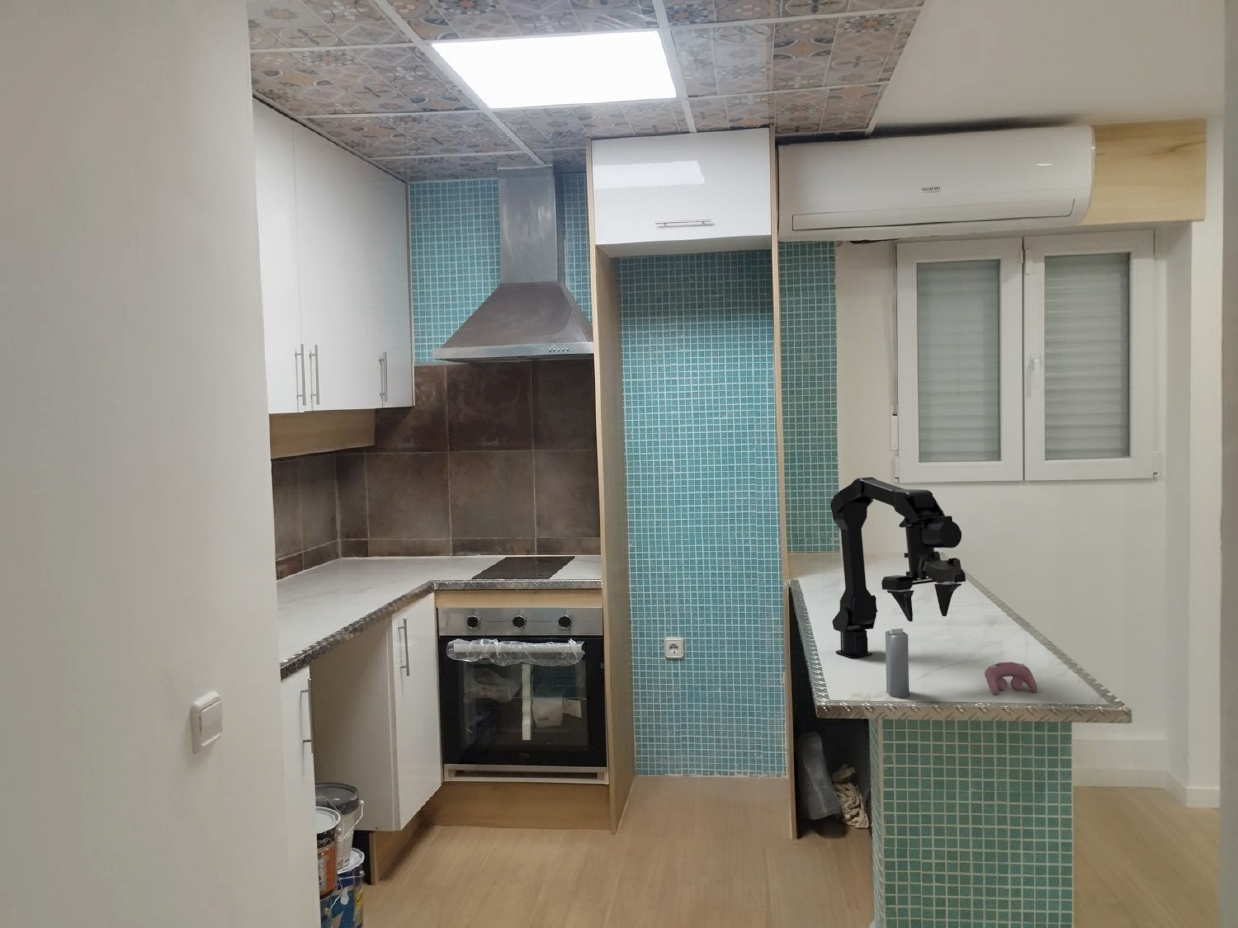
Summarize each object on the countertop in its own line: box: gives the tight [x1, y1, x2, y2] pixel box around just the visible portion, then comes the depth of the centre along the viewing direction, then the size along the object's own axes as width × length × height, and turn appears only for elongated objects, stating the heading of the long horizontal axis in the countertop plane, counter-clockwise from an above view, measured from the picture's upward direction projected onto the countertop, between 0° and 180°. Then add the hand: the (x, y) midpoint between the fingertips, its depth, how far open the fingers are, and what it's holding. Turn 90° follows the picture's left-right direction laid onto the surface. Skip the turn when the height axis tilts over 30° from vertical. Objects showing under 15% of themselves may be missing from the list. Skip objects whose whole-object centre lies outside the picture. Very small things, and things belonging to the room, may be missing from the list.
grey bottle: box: [884, 626, 910, 699], centre depth 214 cm, size 6×4×14 cm, turn 4°
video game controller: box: [984, 661, 1038, 696], centre depth 214 cm, size 10×5×7 cm, turn 92°
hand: (927, 618), depth 221 cm, fingers open, 9 cm apart
